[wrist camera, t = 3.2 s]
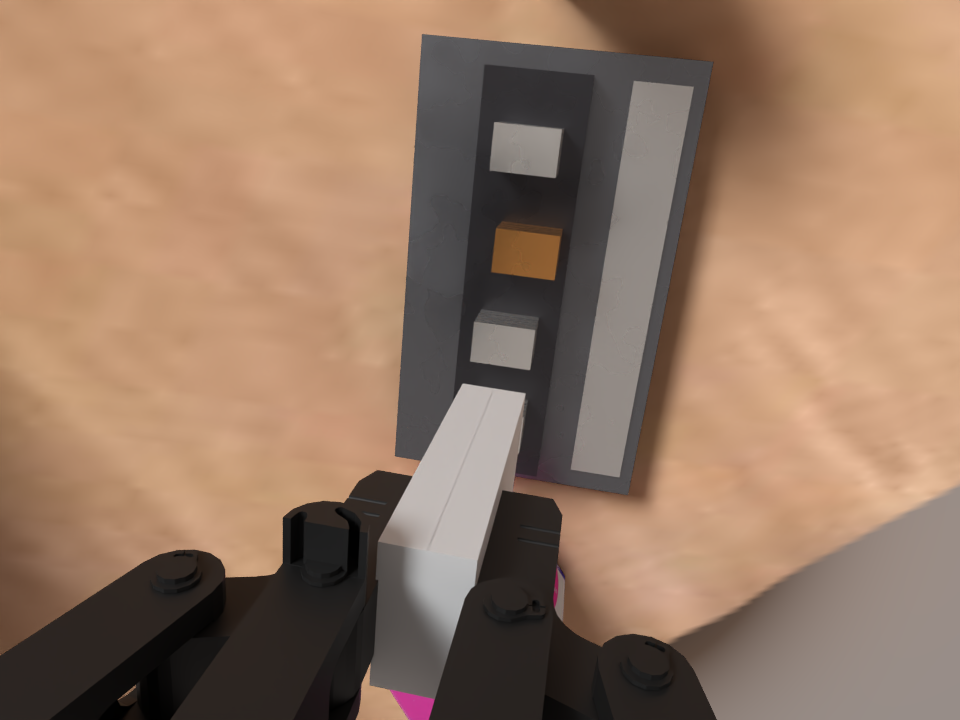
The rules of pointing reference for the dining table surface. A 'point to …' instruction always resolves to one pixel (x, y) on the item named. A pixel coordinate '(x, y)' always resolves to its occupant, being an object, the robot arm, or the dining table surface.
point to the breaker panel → (453, 229)
